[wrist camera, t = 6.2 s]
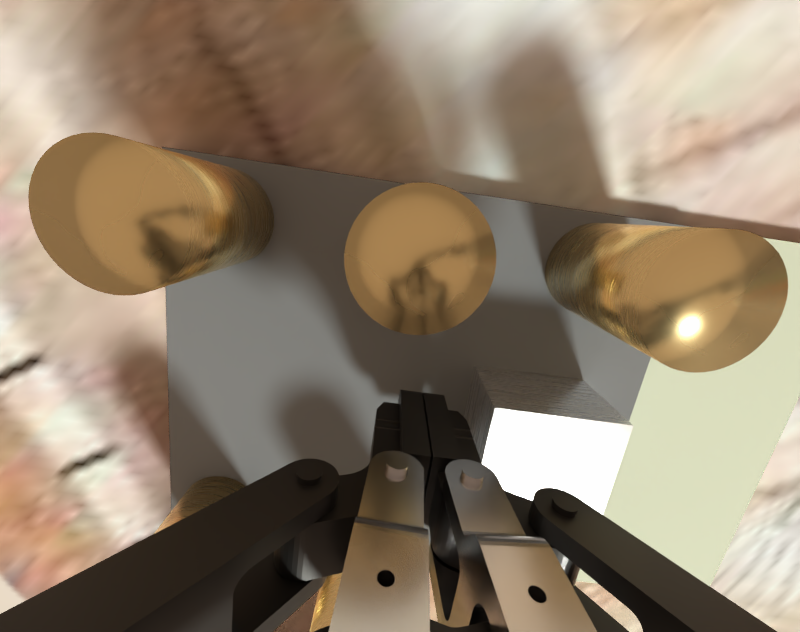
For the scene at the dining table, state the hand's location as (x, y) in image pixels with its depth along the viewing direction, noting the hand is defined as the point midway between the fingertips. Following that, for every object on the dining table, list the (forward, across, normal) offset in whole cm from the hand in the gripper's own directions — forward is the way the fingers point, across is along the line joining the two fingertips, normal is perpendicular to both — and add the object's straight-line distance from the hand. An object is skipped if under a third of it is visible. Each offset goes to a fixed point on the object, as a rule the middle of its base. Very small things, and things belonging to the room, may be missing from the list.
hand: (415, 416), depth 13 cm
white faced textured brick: (+1, -4, 0) cm, 4 cm away
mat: (+2, -3, 0) cm, 3 cm away
